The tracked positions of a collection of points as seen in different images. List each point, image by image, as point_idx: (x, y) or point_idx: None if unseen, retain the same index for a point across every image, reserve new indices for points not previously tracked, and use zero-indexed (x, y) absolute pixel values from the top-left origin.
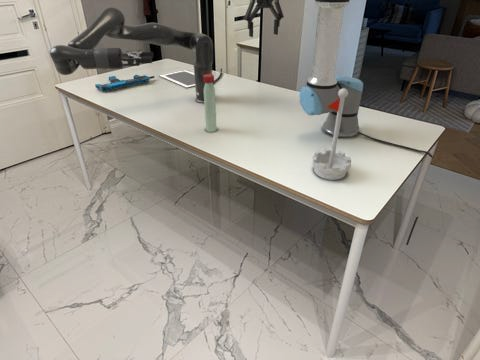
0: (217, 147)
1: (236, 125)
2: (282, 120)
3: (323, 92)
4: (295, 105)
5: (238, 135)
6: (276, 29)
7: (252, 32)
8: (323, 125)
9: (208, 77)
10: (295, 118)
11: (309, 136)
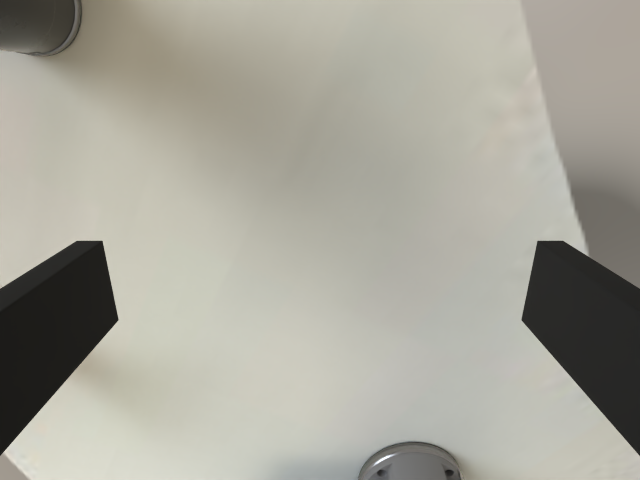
0: (25, 435)
1: (117, 337)
2: (290, 364)
3: None
4: (423, 268)
5: (103, 399)
6: (564, 364)
7: (71, 360)
8: (370, 468)
9: None
10: (342, 368)
11: (303, 474)
